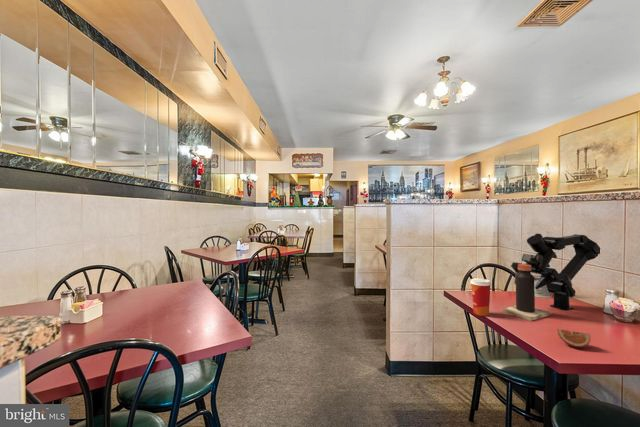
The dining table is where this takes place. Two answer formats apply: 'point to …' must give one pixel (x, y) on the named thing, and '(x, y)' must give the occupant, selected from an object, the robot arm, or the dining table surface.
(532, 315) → the napkin
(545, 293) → the french press
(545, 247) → the robot arm
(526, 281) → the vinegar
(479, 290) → the coffee cup
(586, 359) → the dining table surface
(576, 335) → the fruit slice
